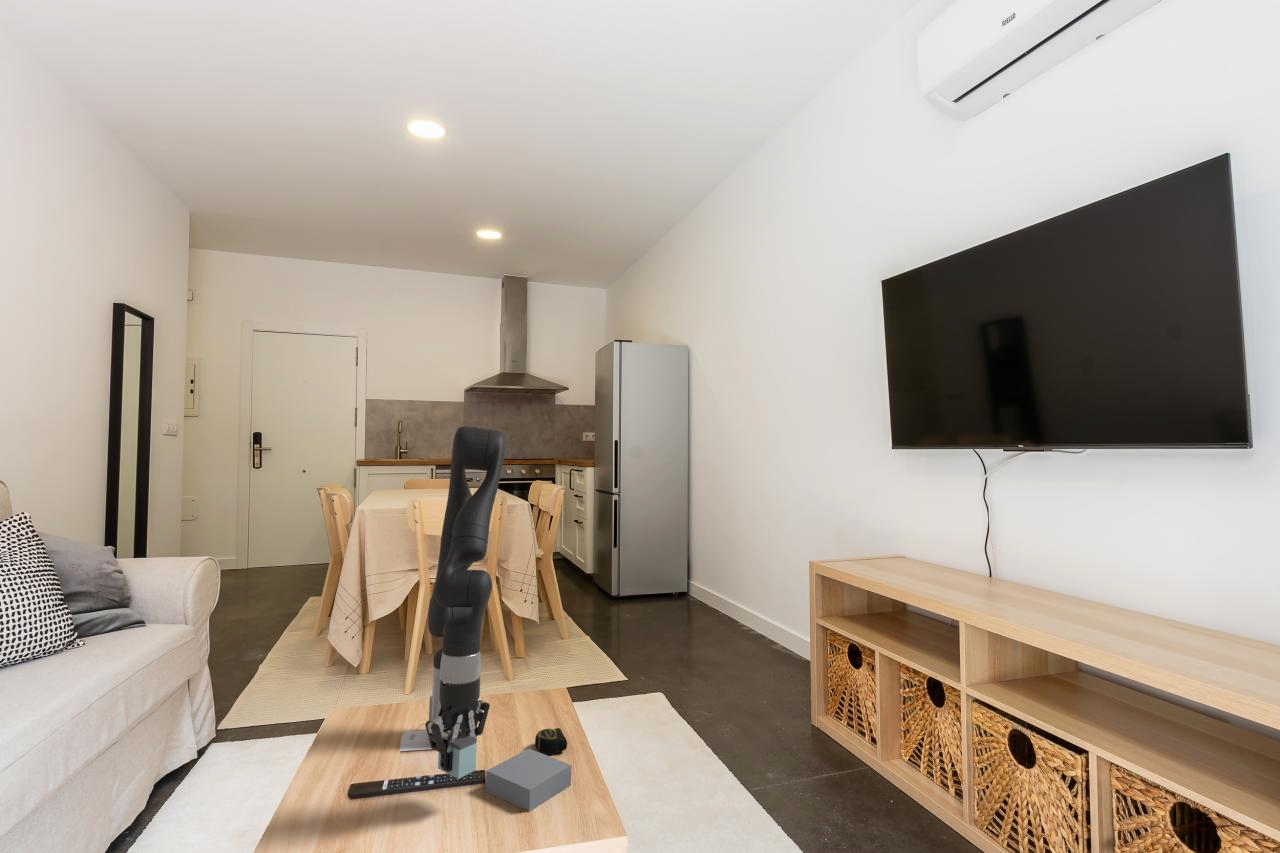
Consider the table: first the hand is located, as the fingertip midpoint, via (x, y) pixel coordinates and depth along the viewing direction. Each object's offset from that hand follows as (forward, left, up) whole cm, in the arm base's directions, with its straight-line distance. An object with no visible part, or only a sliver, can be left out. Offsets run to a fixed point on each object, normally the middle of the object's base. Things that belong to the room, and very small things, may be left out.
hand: (456, 765), depth 121 cm
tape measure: (-1, +29, -8) cm, 30 cm away
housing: (0, 0, -1) cm, 1 cm away
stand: (+6, +13, -8) cm, 17 cm away
